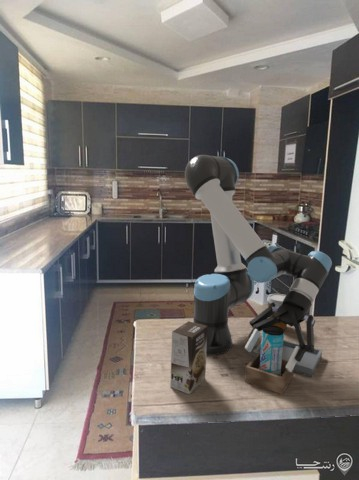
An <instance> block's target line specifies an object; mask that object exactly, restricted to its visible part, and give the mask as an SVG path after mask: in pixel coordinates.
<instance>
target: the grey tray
mask: <svg viewBox="0 0 359 480" xmlns="http://www.w3.org/2000/svg"><path fill="white" fill-rule="evenodd" d="M296 346H298V347H299V348H300V346H299V342H292V341H289V340H287V339H284V340H283V353H282V358H283V359H286V360H289V359H290V357H291V355H292V353H293V351H294V349H295V347H296ZM258 352H261V343H260V344H258V346H256V348H255V349H254V350H253V353H252V359H253V358H254V357H255V356H256V354H257V353H258ZM322 358H323V350H322V349H319V348H315V347H314V352H310V351H306V352H305V353H304V355H303V357H302V359H301V361H300V362H299V361H297V362H296V364H295V366H294V372H293V373H297V374H301V375H304V376H307V377H309V378H312V377H313V376H314V374H315V372H316V370H317V368H318V366H319V364H320V362H321V360H322Z"/></svg>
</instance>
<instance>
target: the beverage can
mask: <svg viewBox="0 0 359 480" xmlns="http://www.w3.org/2000/svg"><path fill="white" fill-rule="evenodd" d="M284 338H285V330H283V329H282V328H280V327H278V326H273V325H267V326H264V327H263V328H262V330H261V342H260V344H261V354H260V367H259V370H262V371H265V372H269V373H272V374H275V375H278V376H281V375H282V374H281V364H282V353H283V340H285V339H284Z"/></svg>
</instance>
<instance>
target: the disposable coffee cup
mask: <svg viewBox="0 0 359 480" xmlns="http://www.w3.org/2000/svg"><path fill="white" fill-rule="evenodd" d="M286 295H287V294H283V293H282V294H281V293H271V294H268V297H267V298H266V301H267V308H268V307H269V306H270V304H271V303H272V302H274V303H275V305H277V306H279V307H280V306H281V305H282V303H283V300H284V298H285V296H286ZM277 312H278V311H277ZM277 312H274V314H275V313H277ZM271 316H273V315H271ZM271 316H270V317H271ZM278 318H279V317H278ZM287 325H288V324H283V323H282V322H281V323H276V324H274V325H273V326H278V327H280V328H282V329H283V330H284V329H285V330H286V329H287V327H288V326H287ZM285 330H284V331H285Z"/></svg>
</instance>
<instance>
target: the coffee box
mask: <svg viewBox="0 0 359 480" xmlns="http://www.w3.org/2000/svg"><path fill="white" fill-rule="evenodd" d="M207 327H208V326H206V325H202V324H198V323H193V321H189V320H188V321H187V322H185V323H184V324H182V325H181V326H178V327H177V328H176V329H174V330H172V332H171V333H172V334H171V354H170V355H171V356H170V357H171V359H170V361H171V362H170V383H169V384H170V387H171V388H173V389H175V390H177V391H180V392H183V393H184V394H187V395H191V393H193V392H194V390H196V389H197V388H198V386H199V385H201V384H202V383H203V382H204V381H205V380H206V372H207V371H206V367H207V354H206V349H207Z"/></svg>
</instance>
